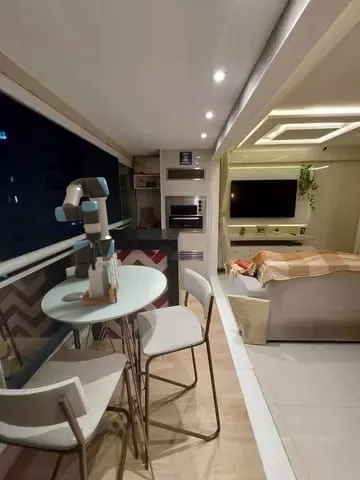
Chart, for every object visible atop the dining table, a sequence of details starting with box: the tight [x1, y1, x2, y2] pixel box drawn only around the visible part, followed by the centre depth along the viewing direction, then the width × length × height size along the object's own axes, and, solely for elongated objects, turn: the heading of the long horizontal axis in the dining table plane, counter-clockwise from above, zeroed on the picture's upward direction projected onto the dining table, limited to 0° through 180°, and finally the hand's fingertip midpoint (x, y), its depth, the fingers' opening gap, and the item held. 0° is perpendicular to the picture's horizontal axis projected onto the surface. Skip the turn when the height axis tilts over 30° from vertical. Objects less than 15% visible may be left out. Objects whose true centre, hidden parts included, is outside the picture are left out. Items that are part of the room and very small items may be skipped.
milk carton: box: [88, 261, 110, 297], centre depth 135 cm, size 7×7×19 cm
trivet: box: [62, 291, 85, 302], centre depth 138 cm, size 11×11×1 cm
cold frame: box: [79, 252, 120, 307], centre depth 135 cm, size 20×17×21 cm
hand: (98, 272), depth 134 cm, fingers open, 13 cm apart
